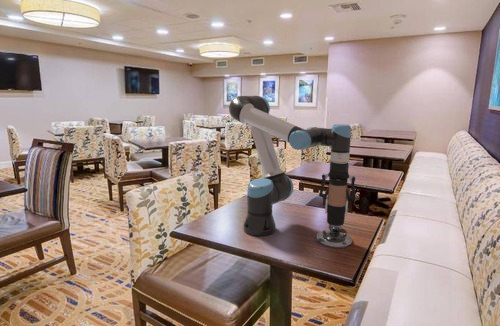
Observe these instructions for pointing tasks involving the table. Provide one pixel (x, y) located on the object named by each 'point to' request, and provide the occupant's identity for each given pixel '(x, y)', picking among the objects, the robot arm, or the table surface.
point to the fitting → (334, 237)
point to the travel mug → (336, 202)
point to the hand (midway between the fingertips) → (336, 213)
